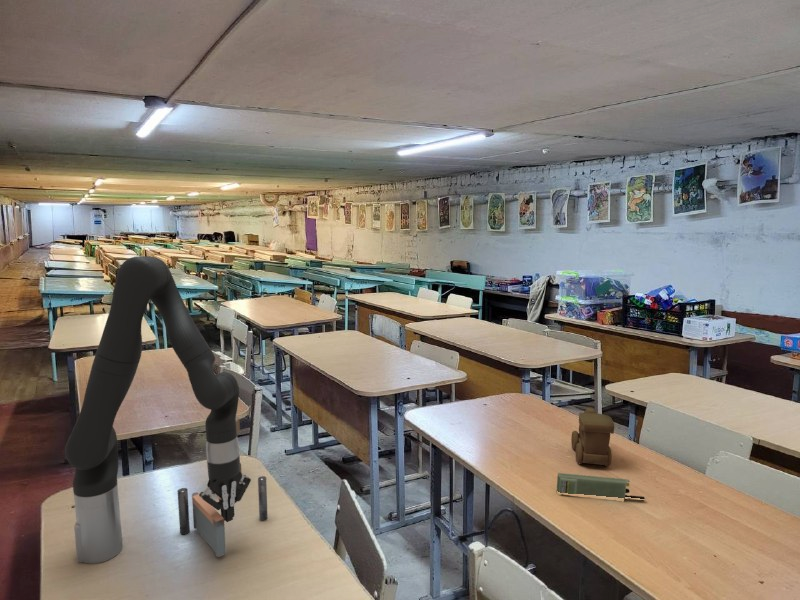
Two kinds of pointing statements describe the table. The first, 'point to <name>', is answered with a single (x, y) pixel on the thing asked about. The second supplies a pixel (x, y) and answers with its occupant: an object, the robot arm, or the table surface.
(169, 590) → the table surface
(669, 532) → the table surface
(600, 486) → the handheld radio
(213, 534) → the gate
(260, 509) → the gate frame
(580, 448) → the wooden toy train
